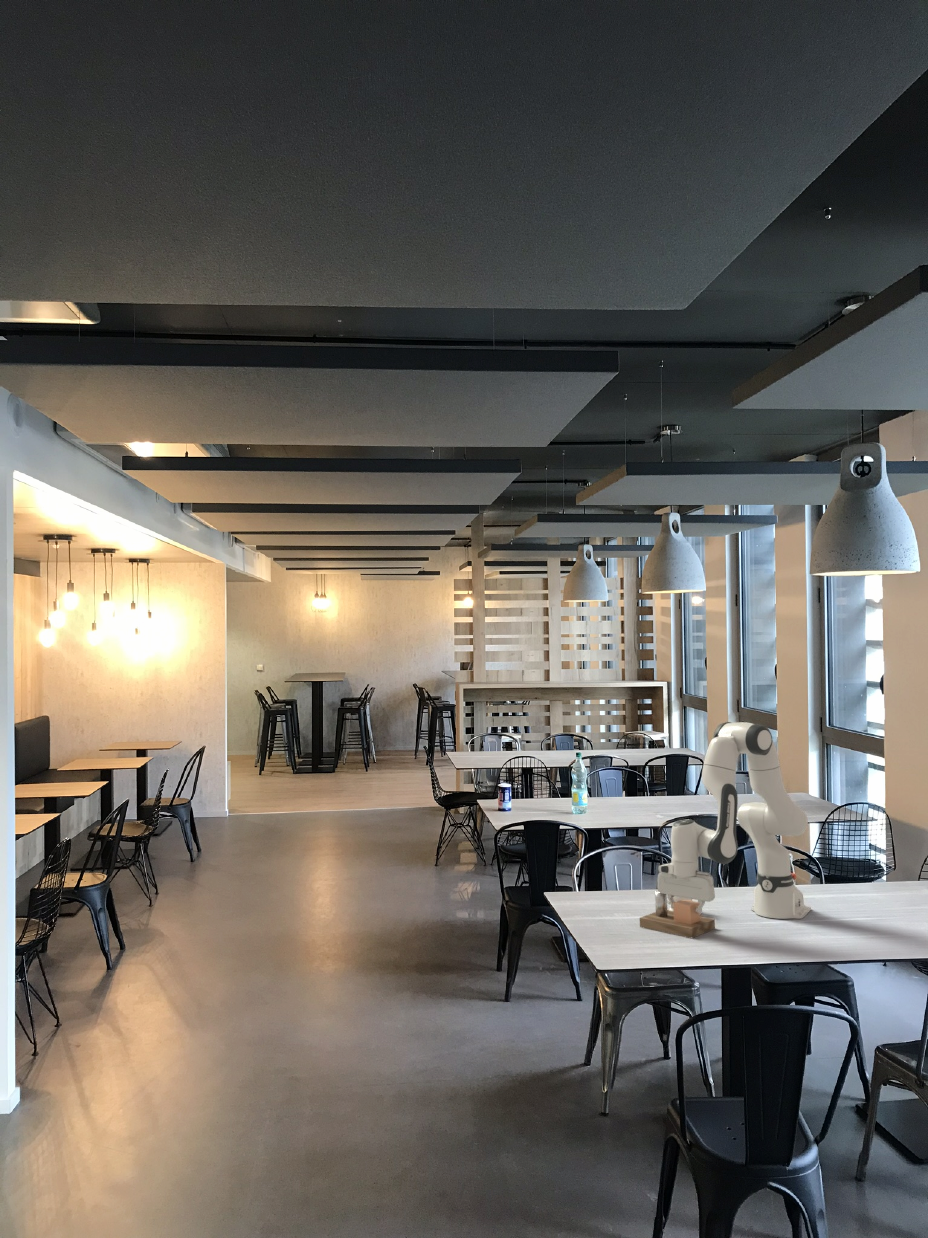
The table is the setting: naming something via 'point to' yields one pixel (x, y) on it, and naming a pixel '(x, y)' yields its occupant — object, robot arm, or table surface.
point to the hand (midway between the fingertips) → (686, 910)
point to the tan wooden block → (686, 911)
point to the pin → (661, 904)
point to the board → (676, 925)
